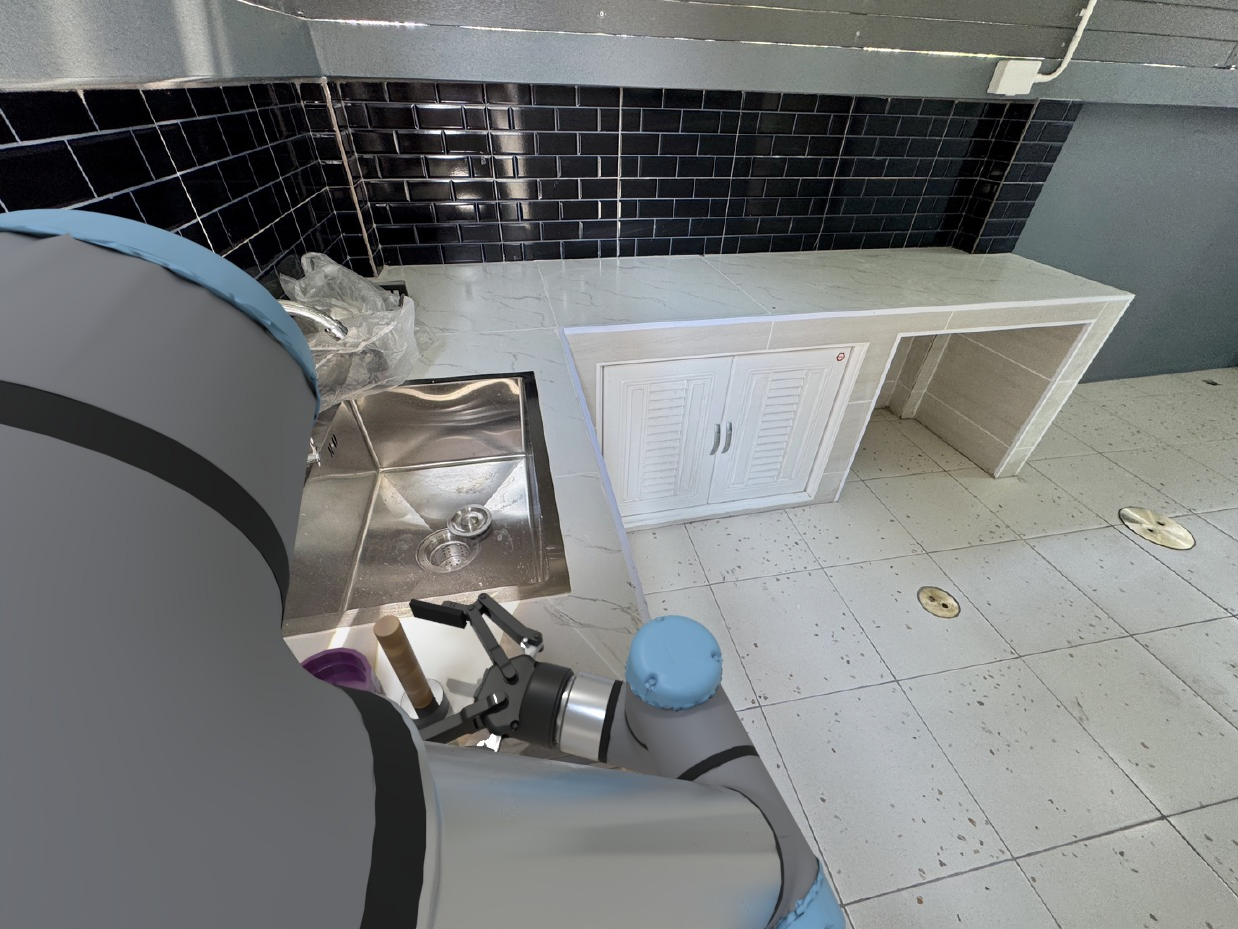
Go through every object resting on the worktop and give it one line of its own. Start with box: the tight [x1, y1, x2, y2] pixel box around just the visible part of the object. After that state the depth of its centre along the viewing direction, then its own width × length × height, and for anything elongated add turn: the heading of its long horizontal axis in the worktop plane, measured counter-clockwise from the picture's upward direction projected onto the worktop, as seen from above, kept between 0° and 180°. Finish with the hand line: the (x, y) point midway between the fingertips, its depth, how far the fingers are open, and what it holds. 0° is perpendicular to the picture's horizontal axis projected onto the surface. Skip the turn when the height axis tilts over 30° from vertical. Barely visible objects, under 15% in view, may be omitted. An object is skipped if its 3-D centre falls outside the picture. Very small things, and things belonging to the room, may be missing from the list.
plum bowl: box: [299, 646, 382, 695], centre depth 59 cm, size 10×10×4 cm
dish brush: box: [372, 614, 450, 730], centre depth 55 cm, size 5×5×18 cm
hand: (378, 660), depth 54 cm, fingers open, 13 cm apart
